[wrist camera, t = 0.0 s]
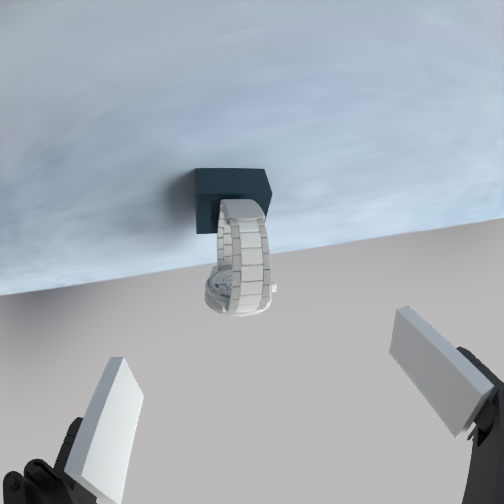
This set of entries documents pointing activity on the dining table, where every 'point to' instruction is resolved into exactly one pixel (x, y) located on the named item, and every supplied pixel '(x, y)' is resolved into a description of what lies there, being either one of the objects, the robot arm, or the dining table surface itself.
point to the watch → (236, 238)
